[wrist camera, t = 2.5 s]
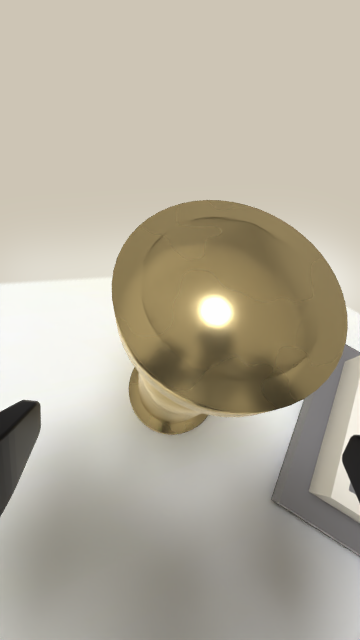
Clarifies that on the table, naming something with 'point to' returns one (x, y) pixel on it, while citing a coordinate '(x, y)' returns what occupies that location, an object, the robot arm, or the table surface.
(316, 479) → the socket plate
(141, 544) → the table surface
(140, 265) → the brass fitting
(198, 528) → the table surface
